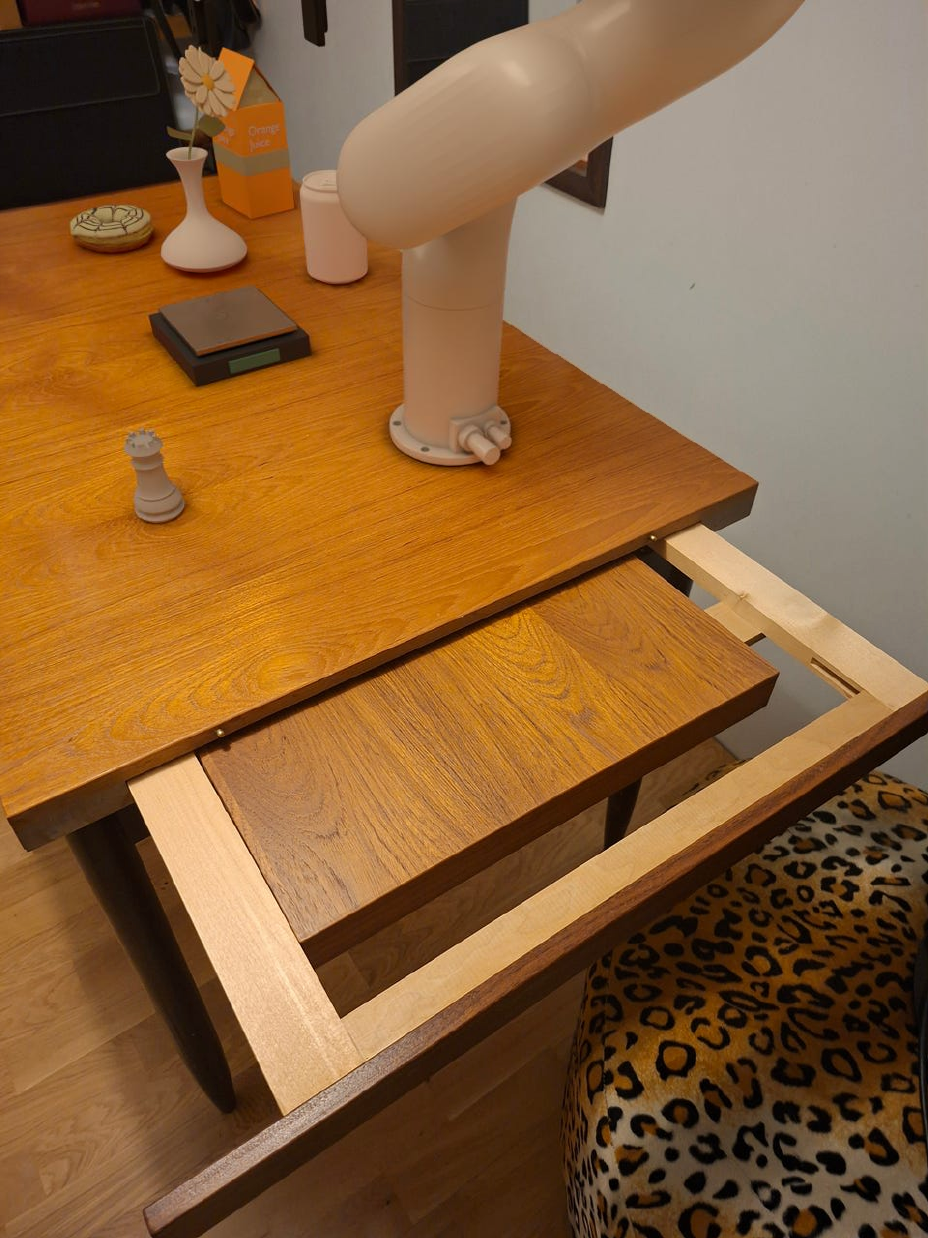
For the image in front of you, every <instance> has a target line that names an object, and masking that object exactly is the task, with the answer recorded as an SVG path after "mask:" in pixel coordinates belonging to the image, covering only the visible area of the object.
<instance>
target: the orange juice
mask: <svg viewBox="0 0 928 1238" xmlns="http://www.w3.org/2000/svg"><path fill="white" fill-rule="evenodd" d="M217 61H222V62H223V64H224V66H225V68H224V69H226V70H227V72H228V74H230V76H231V79H232V80H231V83H233V84H234V85H235V88H236V89H235V91H234V92H232V93H233V95H234V97H235V98H236V103H233V106H234V108H233V109H232V110H231V109H228V108H227V107H226V106H225V107H226V108H227V111H228V114H227V117H226V118H224V117H222V118H219V119H220V120H221V121H222V122H223V123H224V124H225V126H226V127H225V129H224V130H223V131H222V132H221V133H220V134H219V135H217V136H215V137H211V138H212V147H213V153H214V159H215V163H216V170H217V175H218V182H219V187H220V194H221V201H222V203H224V204H225V205H227V206H229V207H231V209H234V210H235V211H237V212H238V213H240V214H241V215H243V216H245V217H247V218H249V219H250V220H255V219H258V218H263V217H266V216H270V215H274V214H278V213H282V212H285V211H290V210H293V209H295V202H294V201H295V200H294V193H293V185H292V184H293V183H292V174H291V173H292V172H291V161H290V159H291V158H290V150H289V145H288V144H289V143H288V136H287V125H286V115H285V106H284V101H282V99H281V98H280V97H279V95H278V94H277V92H276V90H275V89H274V88H273V87H272V85H271V83H269V81H268V79H267V78H266V76H265V75H264V73H263V72H262V71H261V70H260V68H259V67H258V65H257V64H256V62H255V60H254V59H252V58H250V57H248V56H245V55H242V54H240V53H238V52H236V51H233V50H231V49H229V48H226V47H223V46H222V48H221V50H220V55H219V56H218V59H217ZM215 117H217V116H216V115H215ZM217 118H218V117H217Z"/></svg>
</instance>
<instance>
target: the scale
mask: <svg viewBox="0 0 928 1238" xmlns="http://www.w3.org/2000/svg"><path fill="white" fill-rule="evenodd" d="M257 289H258V290H259V291H260V292H261V293H262V294H263V295H264V296H266V297H267V298H268V299H269V300H270V301H271V302H272V303H273V304H274V305H275V306H277V307H278V308H279V309H280V310H281V311H282V312H283V313H284V314H285V315H286V316H287V317H289V318H290V319H291V320H292V321H293V322H294V323H295V324H296V325H297V330H296V331H292V332H288V333H284V334H281V335H277V336H273V337H269V338H265V339H262V340H258V341H254V342H250V343H246V344H243V345H239V346H235V347H231V348H227V349H223V350H220V351H216V352H212V353H208V354H204V355H201V356H197V355H196V354H195V353H194V352H193V351H192V349H191V348H190V347H189V346H188V345H187V344H186V343H185V342H184V340H183V339H182V338H181V337H180V336H179V335H178V334H177V333H176V331H175V330H174V329H173V328H172V327H171V326H170V325H169V324H168V322H167V321H166V320H165V319H164V318H163V317H162V316H161V314H160V313H159V312H154V313H150V314H148V319H149V323H150V328H151V331H152V335H153V337H155V339H156V340H157V341H158V342H159V344H160V345H161V346H162V348H164V349H165V350H166V352H167V353H168V354H169V355H170V356H171V357H172V359H173V360H174V361H175V363H176V364H177V365H178V366H179V367H180V368H181V369H182V370H183V372H184V373H185V374H186V376H188V378H189V379H190V380H191V382H193V384H194V385H195V386H196V387H201V386H204V385H208V384H211V383H217V382H218V381H219V382H220V381H223V380H226V379H230V378H234V377H237V376H241V375H244V374H248V373H251V372H252V373H253V372H255V371H260V370H263V369H266V368H271V367H274V366H277V365H281V364H284V363H287V362H291V361H295V360H299V359H302V358H305V357H310V356H312V347H311V338H310V337H311V336H310V334H309V333H307V332H306V331H305V330H304V329H303V328H302V327H301V326H300V325H299V324H298V323H297V322H295V320H293V319H292V318H291V316H289V315H288V314H287V313H286V312H285V311H283V310H282V309H281V308H280V306H278V305H277V304H275V302H273V301H272V300H271V298H270V297H268V296H267V295H266V294H265V293H264V292H262V290H261V289H259V288H257Z"/></svg>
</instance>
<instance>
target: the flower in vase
mask: <svg viewBox="0 0 928 1238" xmlns="http://www.w3.org/2000/svg"><path fill="white" fill-rule="evenodd" d="M184 55H185V57H183V56H182V57H180V58H179V62H178V64H179V65H178V71H179V73H180V75H181V77H180V81H181V84H182V85H183V88H184V94H185V97H186V98H188V99H190V101H191V103H192V104H193V105H194V106H195V117H194V124H193V126H192V127H193V128H192V132H191V133H188V132H182V131H179V130H176V129H175V128H172V127H170V126H168V125H167V126H166V129H167V134H168V135H169V136H170V137H172V138H176V139H179V140H180V139H181V140H185V141H189V143H188V144H189V145H188V146H184V147H176V148H173V149H171V150H168V151H166V154H165V156H166V157H167V159H168V160H169V161H170V162H171V163H172V164H173V166H174V167H175V169H176V171H177V173H178V175H179V178H180V180H181V183H182V187H183V190H184V194H185V199H186V200H185V201H186V215H185V217H184V219H183V220H182V221H181V222H180V223H179V224H178V226H177V227H175V228H174V229H173V230H172V232H170V234H168V235H167V236H166V239H165V240H164V241H163V243H162V245H161V248H160V257H161V258H162V260H163V261H164V262H165V263H166V264H167V265H168V266H170V267H172V268H174V269H176V270H179V271H184V272H190V273H213V272H218V271H223V270H227V269H228V268H229V269H230V268H232V267H234V266H235V265H237V264H239V263H241V262H242V261H243V259H245V257H246V255H247V253H248V246H247V244H246V242H245V240H244V239H243V238H242V236H241V235H239V233H237V232H236V231H234V230H233V229H232V228H230V227H229V226H227V225H225V224H224V223H222V222H220V221H219V220H218V219H216V218H215V217H214V216H213V215H211V214H210V212H209V210H208V208H207V205H206V202H205V197H204V190H203V168H204V163H205V161H206V158H207V157H208V151H207V150H206V149H203V148H200V147H194V146H193V143H194V139H195V135H196V130H197V127H198V128H199V130H200V131H201V132H203V133H204V134H205V135H206V136H208V137H209V138H212V137H215V136H217V135H219V134H220V133H221V132H222V131H223V130H224V129H225V127H226V126H225V124H224V123H223V122H222V121H221V120H220V119H219V118H222V117H224V118H226V117H227V114H228V111H227V108H228V109H231V110H232V109H233V108H234V106H233V103H236V98H235V97H234V95H233V93H232V92H234V91H235V89H236V88H235V85H234V84H233V83H231V80H232V79H231V76H230V74H228V72H227V70H226V69H224V68H225V66H224V64H223V62H222V61H218V60H216V58H211V57H209V56H208V55H206V54H205V53H204V52H202V51H201V48H200V46H199V47H198V49H197V48H196V47H195V46H194V45H193V44H190V45H188V49H185V51H184ZM225 106H226V107H227V108H226V107H225ZM199 113H201V115H202V116H201V117H200V118H199ZM215 115H216V116H217V117H218V118H217V117H215Z"/></svg>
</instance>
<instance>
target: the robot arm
mask: <svg viewBox="0 0 928 1238" xmlns="http://www.w3.org/2000/svg"><path fill="white" fill-rule="evenodd" d="M805 1H806V0H581V1H580V2H578V3H576V4H574V5H573V6H571V7H570V8H568V9H565V10H564V11H562V12H560V13H558V14H556V15H554V16H551V17H547V18H544V19H541V20H537V21H533V22H531V23H528V24H524V25H522V26H519V27H516V28H513V29H510V30H507V31H504V32H501V33H499V34H495V35H492V36H490V37H488V38H485V39H482V40H480V41H477V42H476V43H474V44H472V45H470V46H469V47H467V48H465V49H463V50H461V51H460V52H458V53H456V54H454V55H453V56H452V57H450V58H449V59H447V60H445V61H444V62H443V63H441V64H440V65H438V66H437V67H436V68H434V69H433V70H431V71H430V72H429V73H427V74H426V75H424V76H423V77H422V78H420V79H418V80H417V81H415V82H414V83H413V84H412V85H410V86H409V87H407V88H406V89H404V90H403V91H401V92H400V93H398V94H397V95H396V96H394V97H392V98H391V99H390V100H389V101H386V103H384V104H383V105H381V106H380V107H378V108H377V109H376V110H374V111H373V112H372V113H370V114H369V115H367V116H366V117H365V118H363V119H362V120H361V121H360V122H359V123H357V125H355V126H354V128H353V129H352V130H351V131H350V133H349V134H348V135H347V137H346V139H345V140H344V143H343V144H342V147H341V149H340V151H339V155H338V159H337V164H336V170H337V172H336V185H337V193H338V197H339V201H340V204H341V207H342V210H343V212H344V214H345V216H346V217H347V219H348V221H349V222H350V223H351V225H352V226H353V227H354V228H355V229H356V230H357V231H358V232H359V233H360V234H361V235H362V236H363V237H365V238H366V240H368V241H369V242H371V243H373V244H375V245H377V246H379V247H382V248H385V249H389V250H397V251H402V255H401V256H402V257H401V324H402V329H401V330H402V369H403V403H401V404H400V405H399V406H398V407H396V409H394V410H393V412H392V414H391V416H390V418H389V424H388V425H389V436H390V439H391V440H392V442H393V444H394V445H395V446H396V447H397V449H398V450H400V451H401V452H402V453H404V454H405V455H407V456H408V457H411V458H413V459H415V460H418V461H421V462H423V463H427V464H431V465H438V466H448V467H449V466H464V465H473V464H475V463H480V462H483V464H485V465H486V466H491V465H494V464H495V463H496V462H498V460H499V459H500V456H501V451H503V450H506V449H508V448H509V447H510V446H511V444H512V442H513V440H512V439H513V438H512V437H511V421H510V418H509V416H508V414H507V413H506V412H505V410H503V408H501V406H499V405H498V400H499V399H498V398H499V386H500V367H501V355H502V338H503V323H504V307H505V294H506V293H505V291H506V284H507V283H506V281H507V269H508V268H507V267H508V258H509V257H508V255H509V248H510V239H511V234H512V226H513V222H514V217H515V213H516V207H517V203H518V199H519V197H520V196H522V195H524V194H525V193H527V192H529V191H530V190H533V189H535V188H536V187H538V186H540V185H541V184H543V183H545V182H547V181H549V180H550V179H552V178H553V177H556V176H557V175H558V174H560V173H562V172H563V171H565V170H567V169H568V168H570V167H572V166H573V165H575V164H577V163H578V162H579V161H581V160H583V158H585V157H586V156H587V155H589V154H590V153H591V152H592V151H594V150H596V149H597V148H598V147H599V146H600V145H602V144H603V143H604V142H606V141H608V140H609V139H611V138H612V137H614V136H616V135H618V134H619V133H621V132H623V131H625V130H626V129H628V128H630V127H632V126H634V125H635V124H637V123H639V122H641V121H644V120H645V119H647V118H649V117H651V116H653V115H655V114H656V113H658V112H660V111H662V110H663V109H665V108H667V107H669V106H671V105H672V104H673V103H675V102H676V101H678V100H680V99H682V98H683V97H685V96H688V95H690V94H691V93H693V92H695V91H696V90H698V89H700V88H702V87H703V86H705V85H707V84H708V83H710V82H712V81H714V80H715V79H717V78H719V77H720V76H722V75H724V74H726V72H728V71H730V70H731V69H732V68H734V67H736V66H737V65H739V64H740V63H741V62H743V61H744V60H746V59H747V58H748V57H750V56H751V55H752V54H753V53H755V52H756V51H758V50H759V49H760V48H761V47H763V46H764V44H765V43H767V42H768V41H769V40H770V39H771V38H772V37H774V36H775V35H776V33H778V32H779V31H780V30H781V29H782V28H783V27H784V26H785V25H786V24H787V22H788V21H789V20H791V18H792V17H793V16H794V15H795V14H796V12H798V10H799V9H800V7H801V6H803V4H804V3H805ZM186 2H187V9H188V15H189V22H190V27H191V33H192V38H193V41H194V43H195V44H196V45H197V46H199V47H200V48H201V51H202V52H204V53H205V54H206V55H208V56H209V57H211V58H215V59H216V58H218V59H219V56H220V54H221V49H220V43H219V36H218V30H217V23H216V16H215V9H214V4H213V1H211V0H186ZM300 5H301V16H302V29H303V38H304V40H305V41H308V42H309V43H310V44H312V45H314V46H316V47H318V48H324V47H325V46H326V33H328V31H329V22H328V9H327V8H328V7H327V0H300Z"/></svg>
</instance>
